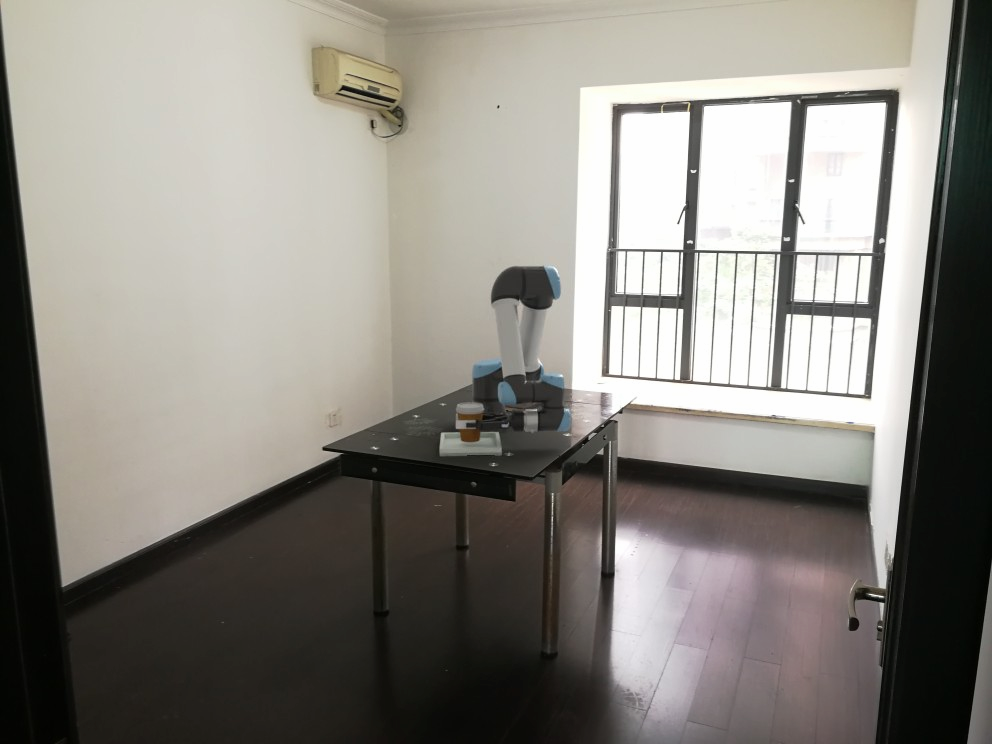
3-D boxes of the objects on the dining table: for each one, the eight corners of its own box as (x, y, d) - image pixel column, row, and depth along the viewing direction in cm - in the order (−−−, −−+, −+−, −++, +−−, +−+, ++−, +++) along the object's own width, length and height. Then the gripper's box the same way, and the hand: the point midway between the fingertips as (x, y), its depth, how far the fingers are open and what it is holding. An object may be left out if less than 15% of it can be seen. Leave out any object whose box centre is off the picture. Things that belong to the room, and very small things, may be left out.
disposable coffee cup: (485, 436, 256) (485, 402, 254) (482, 444, 246) (482, 408, 244) (458, 436, 257) (457, 401, 254) (454, 443, 247) (453, 408, 245)
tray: (439, 456, 242) (439, 448, 241) (441, 439, 261) (441, 432, 261) (501, 455, 243) (501, 447, 242) (498, 438, 262) (498, 431, 262)
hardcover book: (489, 409, 308) (489, 404, 308) (515, 399, 328) (515, 394, 327) (524, 414, 300) (524, 408, 300) (548, 403, 320) (548, 397, 320)
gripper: (526, 439, 242) (455, 440, 241) (521, 423, 262) (456, 424, 261) (526, 417, 240) (455, 417, 239) (521, 402, 261) (455, 403, 260)
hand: (455, 421), depth 250 cm, fingers closed on disposable coffee cup, 8 cm apart
